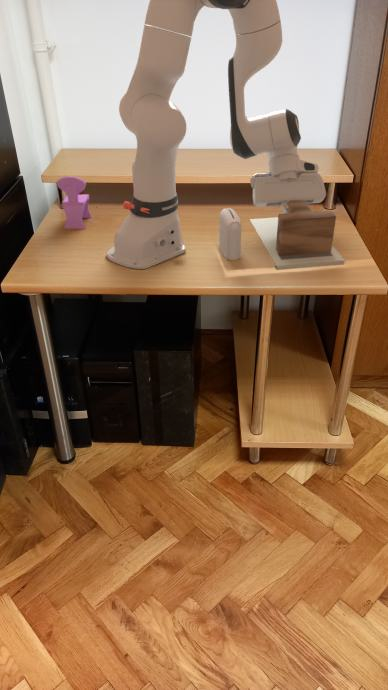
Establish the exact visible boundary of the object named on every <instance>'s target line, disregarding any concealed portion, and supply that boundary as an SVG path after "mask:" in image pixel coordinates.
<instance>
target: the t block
mask: <svg viewBox="0 0 388 690" xmlns="http://www.w3.org/2000/svg"><path fill="white" fill-rule="evenodd" d="M287 208H288V211H287V213H286V214H285V213H278V227H277V240H276V251H277V252H278V254H279V256H287V255H300V254H312V253H324V252H331V249H332V245H333V241H334V234H335V227H336V220H337V215H336V214H335V213H334V212H333V211H332V210H330V209H329V210H316V211H313V210H311V208H310V207H309V206H308V205H307V204H305V202H304V201H303V200H299V201H288V205H287Z"/></svg>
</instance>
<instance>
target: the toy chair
mask: <svg viewBox="0 0 388 690" xmlns="http://www.w3.org/2000/svg"><path fill="white" fill-rule="evenodd" d="M56 184H57V187H58V188H59V190H61V191H63V192H64V193H66V196H65V198H64V199H63V201H62V202H61V203H62V209H63V211H64V214H65V217H66V220H65V225H64V229H77V230H78V229H79V230H80V229H82V230H84V229H85V230H86V225H85V224H84V220H83V219H92V215H91V213H90V209H89V202H90V194H88V193H87V194H86V193H85V194H84V193H83V194H80V193H82V192H83V191H84V190H85V189H86V187H87V186H86V185H87V183H86V181H85V180H84V179H82V178H81V177H77V176H72V175H70V176H69V175H67V176H62V177H60V178H59V179H57V180H56Z"/></svg>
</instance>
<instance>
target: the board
mask: <svg viewBox="0 0 388 690" xmlns="http://www.w3.org/2000/svg"><path fill="white" fill-rule="evenodd" d="M249 221H250V222H251V224H252V226H253V228H254V229H255V231H256V233H257V234H258V237H259V238H260V240H261V241H262V244H263V245H264V246H265V248H266V250H267V251H268V254H269V255H270V257H271V259H272V260H273V262H274V269H275V270H276V271H279V270H280V271H283V270H292V269H305V268H307V269H308V268H316V267H317V268H318V267H319V268H320V267H330V266H340V265H341V266H342V265H345V259H344V258H343V256H342V255H341V254H340V253H339V252H338V250H337V248H335V246H334V245H333V244H332V249H331V252H324V253H312V254H300V255H287V256H279V254H278V252H277V251H276V240H277V227H278V217H277V216H275V217H265V218H250V219H249ZM275 265H276V266H275Z"/></svg>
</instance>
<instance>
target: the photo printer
mask: <svg viewBox="0 0 388 690" xmlns="http://www.w3.org/2000/svg"><path fill="white" fill-rule="evenodd" d="M218 231H219V233H218V234H219V236H218V237H219V238H218V240H219V246H218V247H219V248H220V251H221V253H222V255H223V256H224V258H225V259H226V260H230V261H231V260H232V261H235V260H239V259H241V258H242V257H241V255H242V254H241V253H242V250H241V249H242V222H241V218H240V217H239V215H238V213H237V212H236V211H235V210H234V209H233V208H231V207H228V208H227V207H226V208H223V209H222V210H221V211H220V213H219V230H218Z"/></svg>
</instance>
